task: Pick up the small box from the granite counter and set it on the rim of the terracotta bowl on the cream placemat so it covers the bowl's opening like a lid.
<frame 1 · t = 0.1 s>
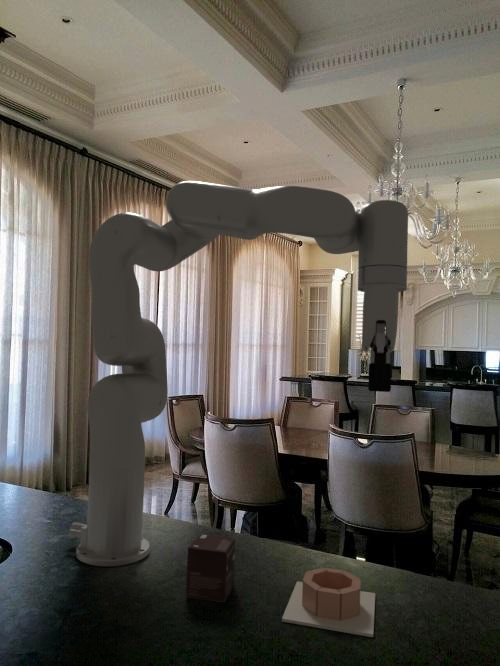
hand: (379, 389, 79), 31 cm above the counter, tool pointing down, fingers open, 9 cm apart
placemat: (331, 607, 72), on the counter
box: (210, 593, 76), on the counter
bowl: (331, 592, 73), on the placemat
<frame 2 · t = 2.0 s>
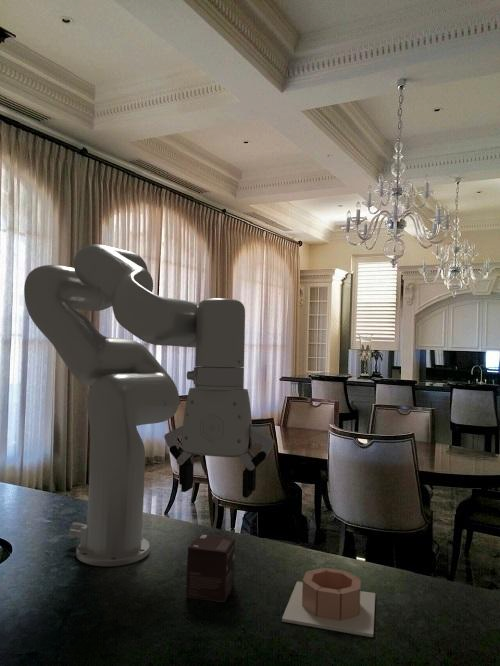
hand: (216, 492, 77), 15 cm above the counter, tool pointing down, fingers open, 9 cm apart
nothing on the counter moved.
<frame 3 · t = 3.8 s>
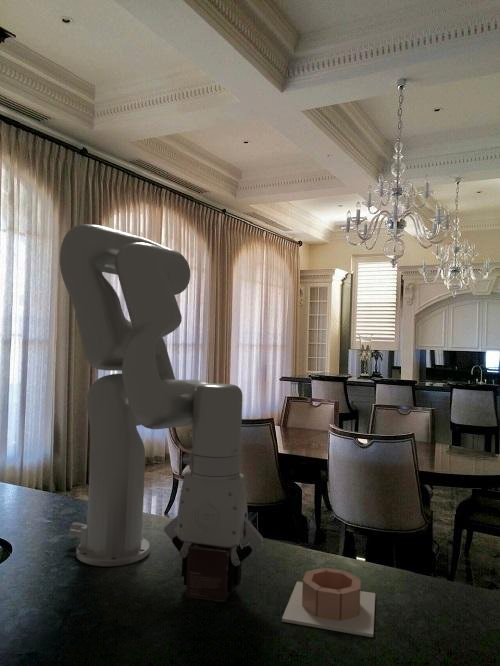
hand: (210, 584, 76), 1 cm above the counter, tool pointing down, fingers closed on box, 6 cm apart
box: (210, 592, 76), on the counter, touching gripper
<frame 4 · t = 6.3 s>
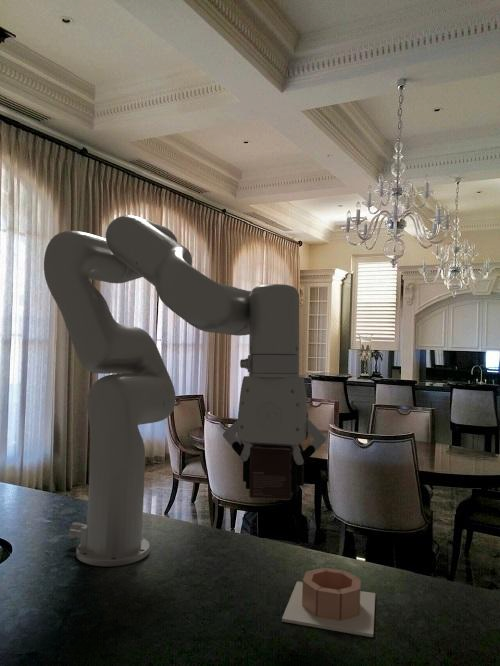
hand: (273, 487, 75), 16 cm above the counter, tool pointing down, fingers closed on box, 6 cm apart
box: (272, 496, 75), point 15 cm above the counter, touching gripper
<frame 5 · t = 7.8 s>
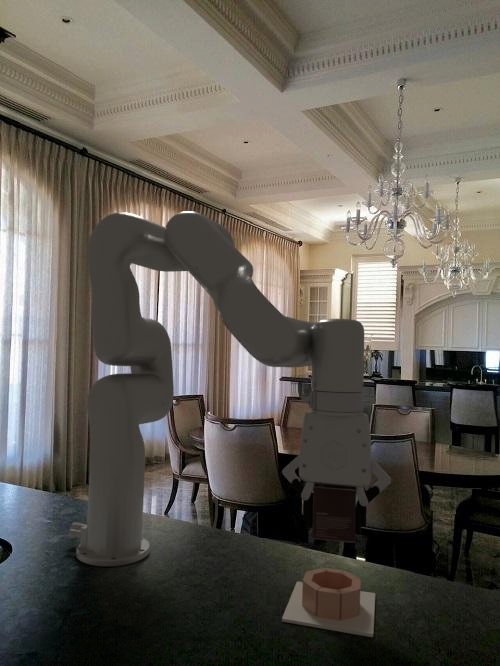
hand: (334, 527, 73), 11 cm above the counter, tool pointing down, fingers closed on box, 6 cm apart
box: (334, 536, 73), point 10 cm above the counter, touching gripper
when the fingers open (6 cm above the counter, at t = 9.2 s): box drops 1 cm, resting on bowl.
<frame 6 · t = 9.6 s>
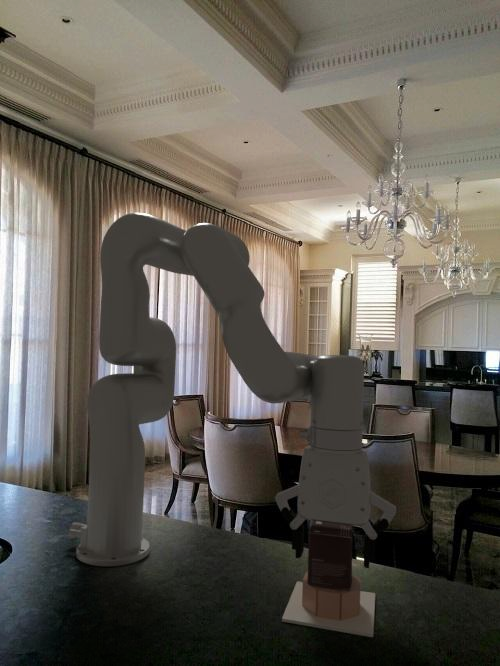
hand: (332, 559, 73), 7 cm above the counter, tool pointing down, fingers open, 9 cm apart
box: (330, 581, 73), point 4 cm above the counter, touching bowl
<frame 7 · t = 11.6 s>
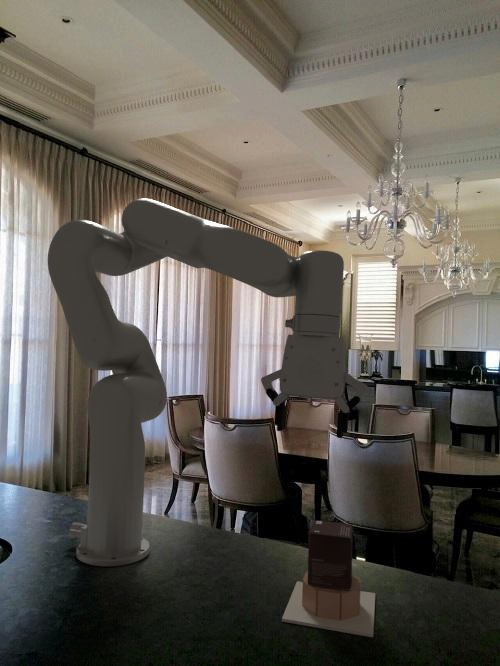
hand: (310, 433, 82), 24 cm above the counter, tool pointing down, fingers open, 9 cm apart
nothing on the counter moved.
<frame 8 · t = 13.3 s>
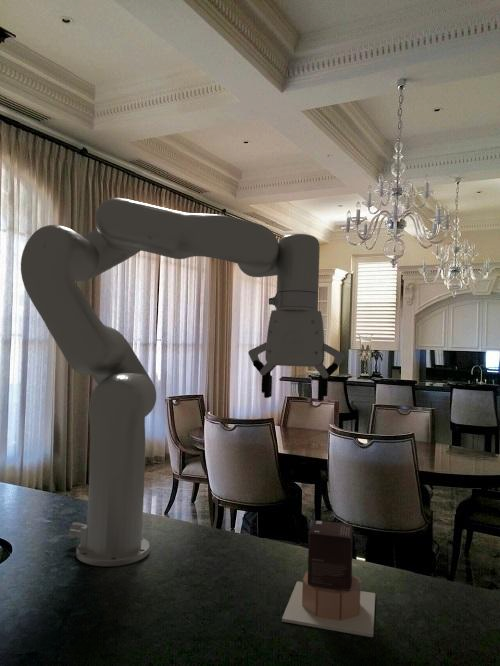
hand: (294, 398, 91), 28 cm above the counter, tool pointing down, fingers open, 9 cm apart
nothing on the counter moved.
at the end: box 0.3 cm off-centre on the bowl, point 3.7 cm above the bowl's base; box tilted 0°; the gripper is holding nothing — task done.
